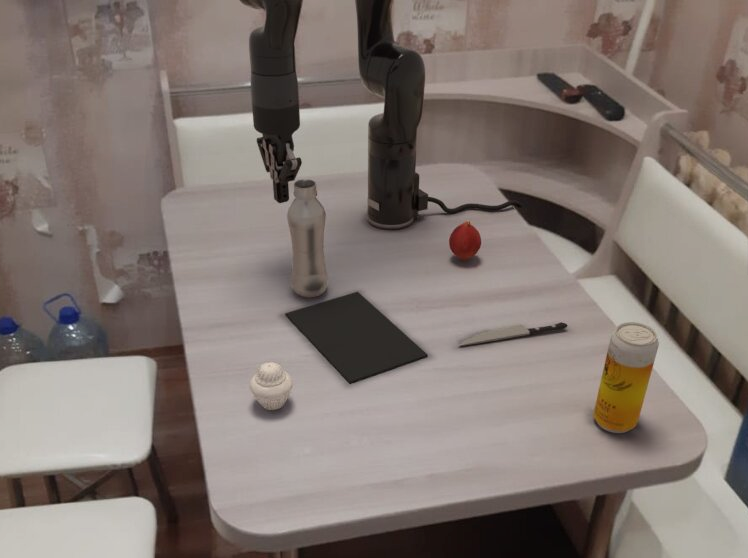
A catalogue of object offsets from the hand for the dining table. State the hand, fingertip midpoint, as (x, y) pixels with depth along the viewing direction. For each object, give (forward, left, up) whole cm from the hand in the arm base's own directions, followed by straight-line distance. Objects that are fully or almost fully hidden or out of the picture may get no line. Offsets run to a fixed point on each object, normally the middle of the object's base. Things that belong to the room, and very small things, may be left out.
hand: (281, 200), depth 142 cm
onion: (-30, +13, -14) cm, 36 cm away
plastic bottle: (0, +9, -14) cm, 16 cm away
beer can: (-21, +62, -14) cm, 67 cm away
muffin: (+19, +34, -14) cm, 41 cm away
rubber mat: (0, +25, -13) cm, 28 cm away
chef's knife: (-22, +37, -14) cm, 45 cm away
